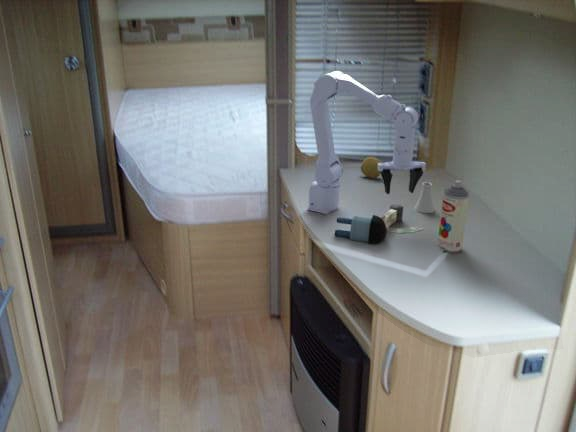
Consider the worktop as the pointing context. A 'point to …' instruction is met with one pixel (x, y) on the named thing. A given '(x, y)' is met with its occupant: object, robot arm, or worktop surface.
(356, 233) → the toy
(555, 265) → the worktop surface
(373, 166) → the potato
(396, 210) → the peg
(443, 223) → the aerosol can
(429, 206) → the flask
